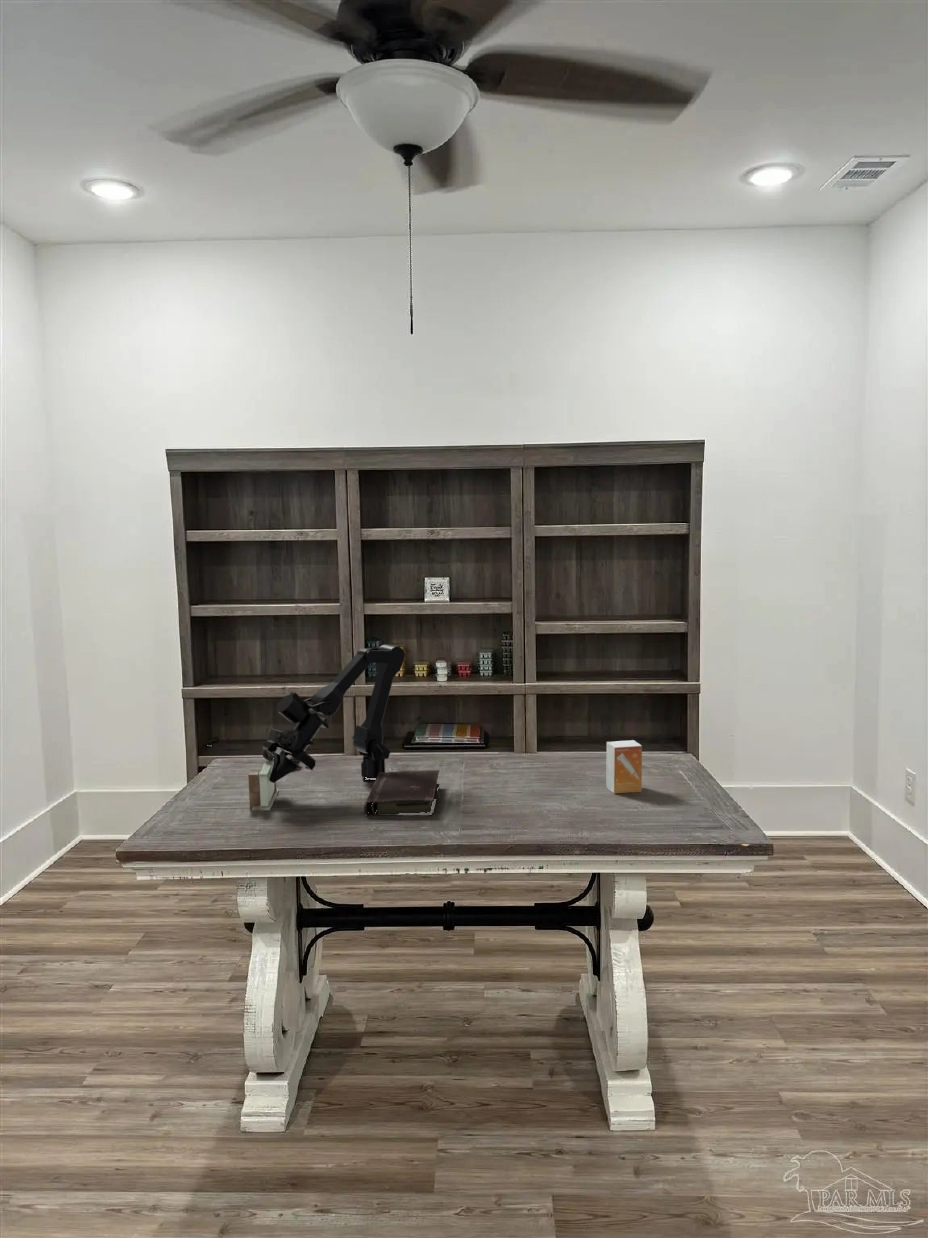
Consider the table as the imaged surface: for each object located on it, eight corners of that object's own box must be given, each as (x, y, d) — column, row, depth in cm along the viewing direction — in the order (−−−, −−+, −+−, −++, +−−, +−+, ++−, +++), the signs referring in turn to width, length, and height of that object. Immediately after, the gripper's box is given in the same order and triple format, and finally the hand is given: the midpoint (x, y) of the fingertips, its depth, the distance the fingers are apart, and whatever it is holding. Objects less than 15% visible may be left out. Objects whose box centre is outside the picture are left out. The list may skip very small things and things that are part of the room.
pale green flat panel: (267, 790, 240) (266, 760, 239) (274, 790, 240) (273, 760, 239) (260, 806, 227) (258, 774, 226) (268, 806, 227) (266, 774, 226)
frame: (279, 790, 244) (278, 759, 242) (269, 810, 227) (268, 776, 226) (259, 791, 243) (258, 759, 242) (248, 811, 227) (246, 777, 226)
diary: (363, 819, 221) (362, 800, 221) (377, 788, 246) (376, 771, 246) (437, 817, 221) (436, 798, 220) (442, 787, 245) (442, 769, 245)
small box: (614, 794, 235) (614, 747, 233) (605, 787, 241) (605, 741, 239) (642, 792, 236) (642, 745, 235) (633, 785, 243) (633, 739, 241)
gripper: (266, 711, 240) (233, 759, 234) (303, 722, 226) (269, 773, 220) (293, 733, 246) (261, 780, 240) (330, 745, 233) (297, 795, 227)
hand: (271, 781), depth 232 cm, fingers closed
